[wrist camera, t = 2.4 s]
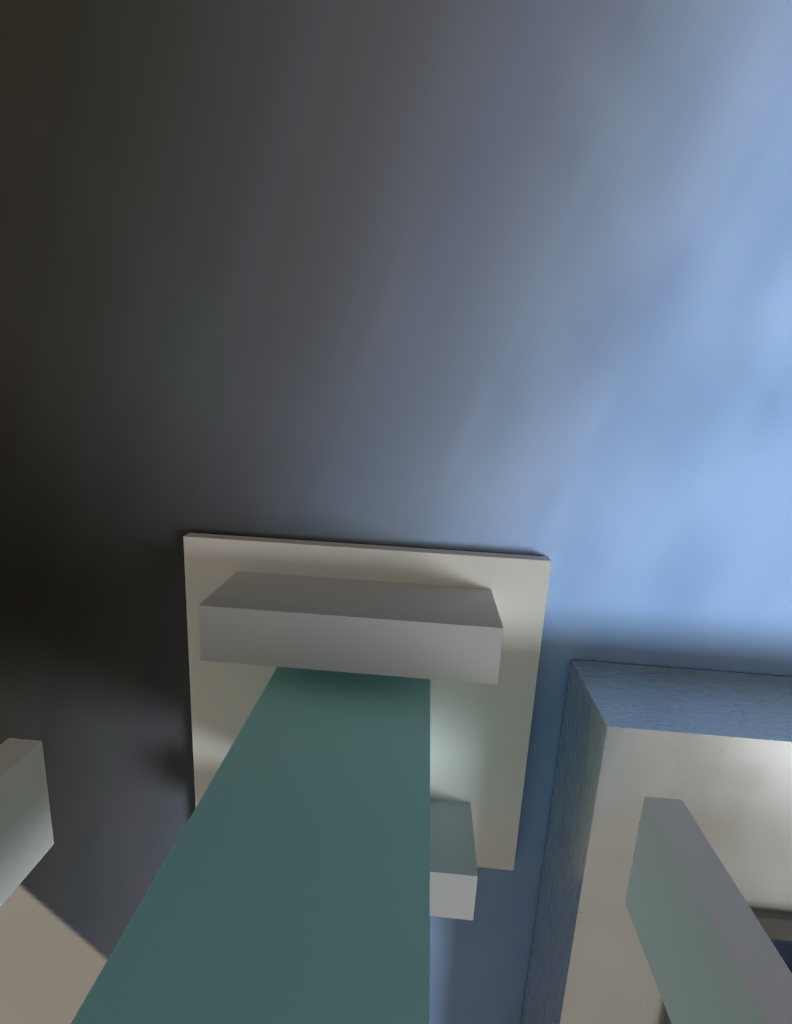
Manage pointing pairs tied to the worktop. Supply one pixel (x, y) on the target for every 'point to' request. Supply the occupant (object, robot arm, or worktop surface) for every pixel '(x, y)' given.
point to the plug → (294, 871)
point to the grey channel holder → (382, 666)
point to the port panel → (616, 815)
